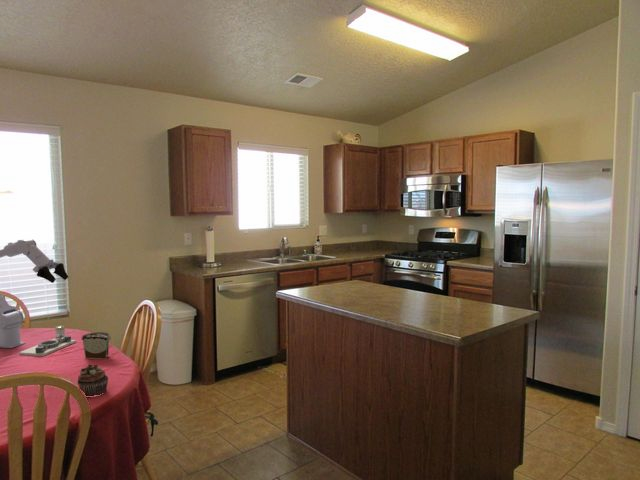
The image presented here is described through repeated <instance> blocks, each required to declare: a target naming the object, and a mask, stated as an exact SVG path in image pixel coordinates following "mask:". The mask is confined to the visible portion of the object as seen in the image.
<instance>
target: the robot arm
mask: <svg viewBox="0 0 640 480" xmlns="http://www.w3.org/2000/svg"><path fill="white" fill-rule="evenodd" d="M37 245H38V244H37V242H36V241H35V240H34V239H32V238H27V239H18V240H17V241H15V242H8V243H7V244H6V245H4V247H3V249H0V259H1V258H4V257H6V256H7V257H9V258H12V257H16V256H19V255H22V254H23V255H24V256H26V257H27V258H28V259H29V261H31V262H32V263H33V264H34V265H35V266H34V267H33V268H32V271H33V272H34V273H36V274H35V276H37V277H38V278H42V279H44V280H47V281H48V282H50V283H52V284H53V283H55V281H56V277H55V276H54V274H55V275H57V276H58V277H60V278H61V279H63V280H64V281H66V280H67V279H68V278H69V275H68V274H67V271H66V269H65V266H64V264H63V262H58V261H57V262H56V261H54V259H50V258H49V257H48V256H47V255H46V254H45V253H44V252H43V251H42V250H41V249H40V248H39V247H38V246H37ZM50 270H54V271H53V272H51V271H50ZM52 273H53V274H52ZM24 317H25V316H24V314H23V312H22V311H21V310H19V309H18V308H17V307H16V306H14V305H11V304H9V302H8V301H7V300H6V298H5V297H4V295H3V294H2V293H1V292H0V348H3V349H13V348H16V347H19V346H21V345H24V344H26V342H25V341H22V340H21V325H22V322H23V321H24Z"/></svg>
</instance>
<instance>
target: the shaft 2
mask: <svg viewBox="0 0 640 480" xmlns="http://www.w3.org/2000/svg"><path fill="white" fill-rule="evenodd" d="M57 340H58V341H59V343H62V342H69V341H71V340H72V336H71V335H65V336H63V338H58V339H57Z"/></svg>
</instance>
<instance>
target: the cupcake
mask: <svg viewBox="0 0 640 480" xmlns="http://www.w3.org/2000/svg"><path fill="white" fill-rule="evenodd" d="M108 383H109V376H107V375H106V371H105V370H103V369H102V368H101V367H100V366H98V364H96V365H95V364H94V365H92V364H88V365H87V366H86V367H85V368H81V369H80V370H79V375H78V376H77V385H78V388H79V390H80V389H81V390H82V391H83V392H84V393H85V395H86V396H94V395H100V394H102V393H104V394H106V393H105V391H106V392H107V387H108Z"/></svg>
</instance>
